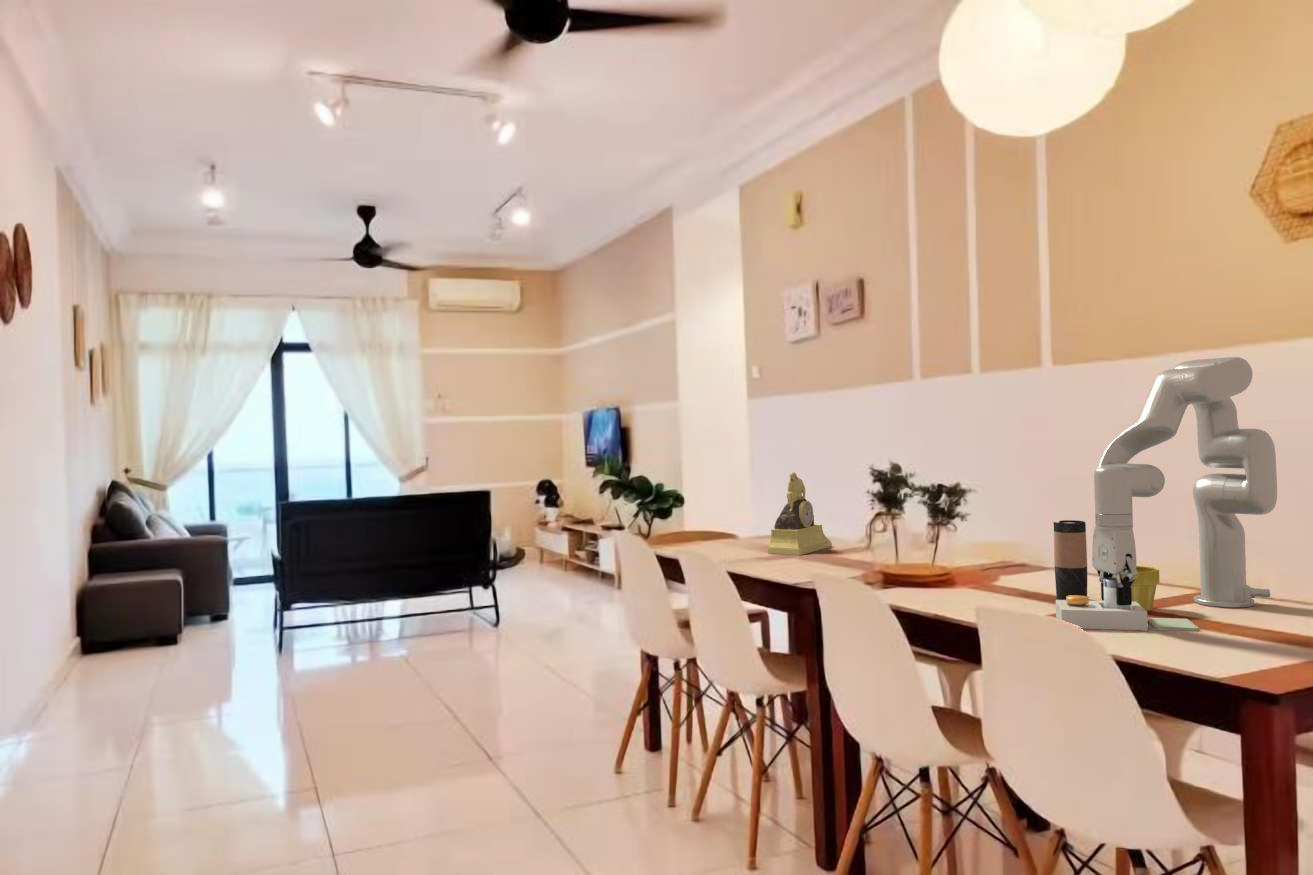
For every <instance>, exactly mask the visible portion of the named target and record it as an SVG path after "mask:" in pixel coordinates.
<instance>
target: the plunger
mask: <svg viewBox="0 0 1313 875" xmlns="http://www.w3.org/2000/svg"><path fill="white" fill-rule="evenodd" d="M1089 598H1090V597H1088V595H1087V596H1080V595H1070V596H1066V602H1067V603H1070V607H1085V604H1088V603H1089V601H1090V600H1089Z"/></svg>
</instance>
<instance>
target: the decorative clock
mask: <svg viewBox="0 0 1313 875" xmlns="http://www.w3.org/2000/svg"><path fill="white" fill-rule="evenodd" d="M788 475H789V478H790V479H789V481H788V485H787V493H786V499H787V503H786V504H785V505H784V507H783V509H782V510H781V512H780V514H779V516H778V517H777V518H776V520H775V524H774V526H773V527H774V528H772V529H770V533H771V534H770V541H769V545H768V548H767V554H768V555H786V556H803V555H805V554H809V553H812V552H816V551H819V550H822V549H826V548H827V549H828V548H831V547H832V544H833V542H832V541H831V540H830V539H829V538H828V537H827V536H826V535H825V533H824V530H823V524H815V515H814V508H813V504H812V503H811V502H810V501H809V500H807V499H806V487H805V484H804V481H803V480H802V479H801V478H799V477H798V476H797V473H796V472H795V471H790V473H789V474H788Z"/></svg>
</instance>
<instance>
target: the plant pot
mask: <svg viewBox="0 0 1313 875" xmlns="http://www.w3.org/2000/svg"><path fill="white" fill-rule="evenodd" d="M1136 570H1137V572H1138V576H1137V578H1136V579H1135V580H1134V582H1133V587H1131V594H1132V602H1137V603H1138V604H1139V605H1140V606H1141V607H1142V608H1144V609H1145V610H1146V611H1147V612H1149V611H1152V610H1153V607H1154V601H1155V598H1156V597H1155V596H1156V590H1157V585H1158V584H1159V583H1160V570H1159V568H1157V567H1153V566H1144V565H1143V566H1142V565H1141V566H1140V565H1136ZM1120 573H1126V572H1123V571H1122V572H1120ZM1114 577H1115V578H1117V577H1116V574H1115V575H1114ZM1124 577H1125V576H1122V578H1124Z"/></svg>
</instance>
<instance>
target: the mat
mask: <svg viewBox="0 0 1313 875" xmlns="http://www.w3.org/2000/svg"><path fill="white" fill-rule="evenodd" d="M1147 622H1149V624H1150V625H1152V626H1153V627H1154V628H1155V629H1156V630H1157V631H1181V632H1183V631H1185V632H1187V631H1189V632H1199V631H1200V628H1199V627H1198V626H1197V625H1195V624H1194V622H1192V621H1191V620H1189V619H1188V618H1177V617H1176V618H1173V617H1172V618H1171V617H1147Z"/></svg>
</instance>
